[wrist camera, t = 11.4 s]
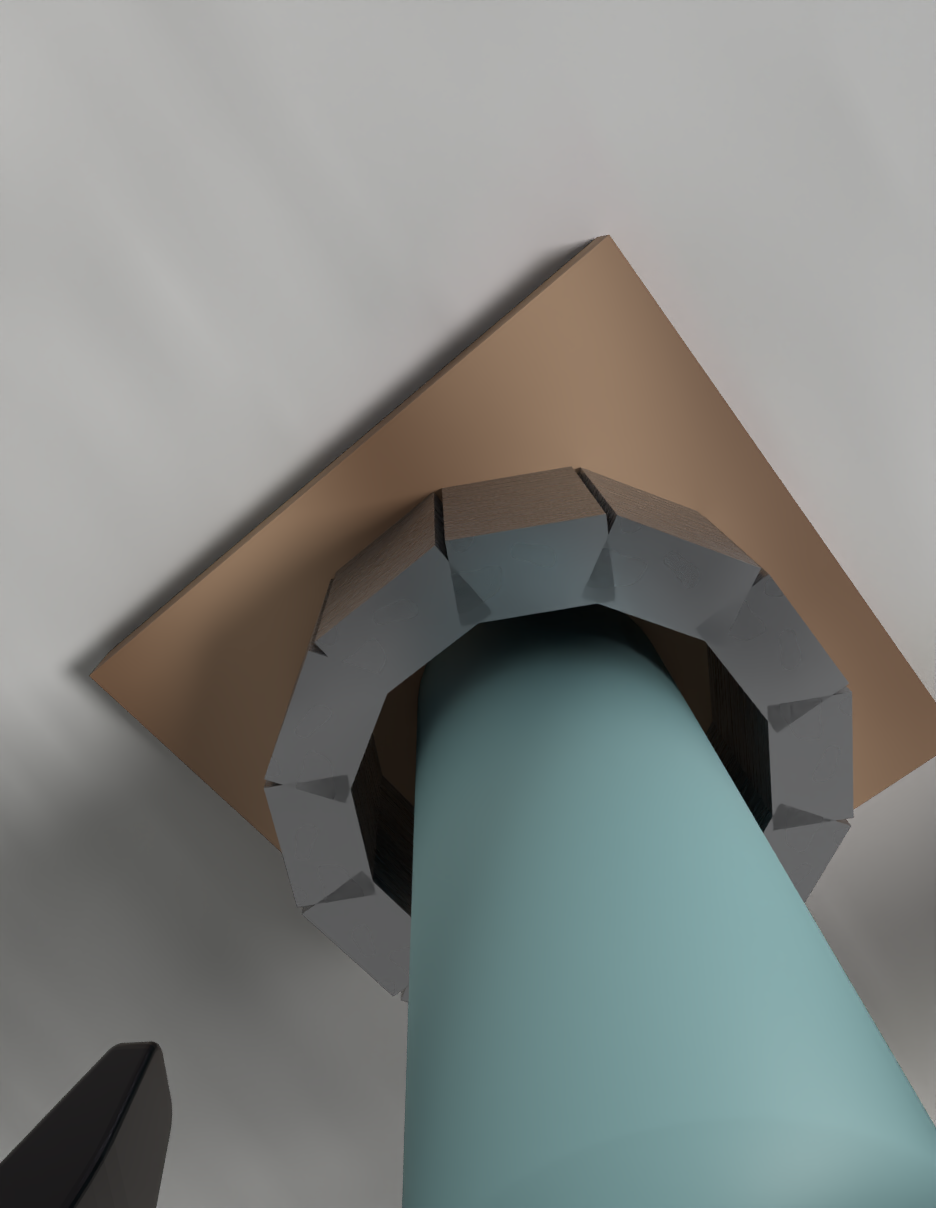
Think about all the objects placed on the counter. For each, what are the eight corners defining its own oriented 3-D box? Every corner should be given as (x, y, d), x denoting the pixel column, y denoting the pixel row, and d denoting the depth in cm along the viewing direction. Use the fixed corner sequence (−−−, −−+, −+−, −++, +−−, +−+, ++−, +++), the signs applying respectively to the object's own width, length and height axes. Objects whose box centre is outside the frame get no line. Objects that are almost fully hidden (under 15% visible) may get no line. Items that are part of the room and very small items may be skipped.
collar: (590, 362, 14) (632, 386, 11) (864, 731, 16) (955, 828, 13) (199, 683, 15) (147, 775, 13) (502, 975, 18) (516, 1106, 15)
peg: (567, 537, 15) (804, 1005, 5) (714, 719, 16) (1110, 1352, 7) (365, 693, 16) (266, 1332, 6) (520, 854, 17) (632, 1584, 8)
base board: (597, 237, 14) (609, 234, 13) (932, 713, 17) (961, 739, 16) (109, 652, 16) (88, 675, 15) (489, 1008, 19) (492, 1045, 19)
